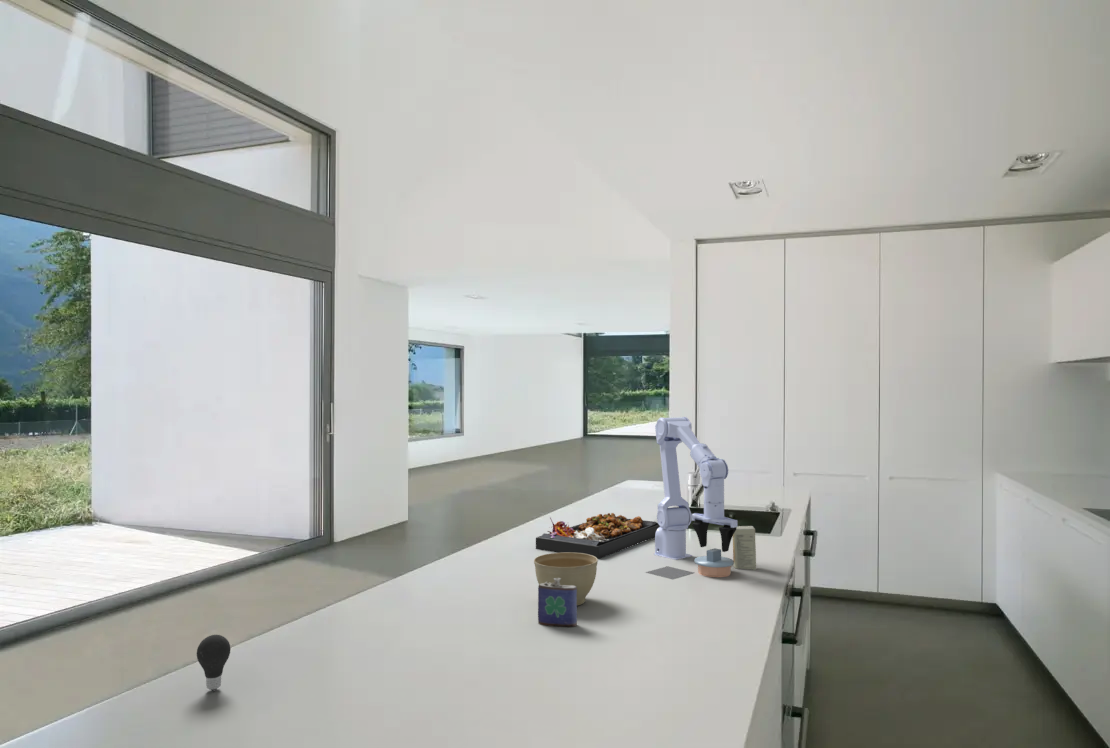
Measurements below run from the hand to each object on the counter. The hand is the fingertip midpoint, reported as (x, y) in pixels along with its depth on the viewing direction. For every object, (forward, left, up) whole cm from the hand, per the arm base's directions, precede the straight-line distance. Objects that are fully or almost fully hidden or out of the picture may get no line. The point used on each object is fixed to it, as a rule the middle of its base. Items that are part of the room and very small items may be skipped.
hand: (714, 548), depth 211 cm
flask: (+1, -62, -8) cm, 62 cm away
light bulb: (-15, -132, -8) cm, 133 cm away
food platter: (-52, +8, -8) cm, 54 cm away
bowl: (0, 0, -7) cm, 7 cm away
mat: (-9, -9, -7) cm, 15 cm away
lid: (0, 0, -4) cm, 4 cm away
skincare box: (+2, +12, -8) cm, 14 cm away
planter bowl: (-10, -49, -8) cm, 51 cm away
